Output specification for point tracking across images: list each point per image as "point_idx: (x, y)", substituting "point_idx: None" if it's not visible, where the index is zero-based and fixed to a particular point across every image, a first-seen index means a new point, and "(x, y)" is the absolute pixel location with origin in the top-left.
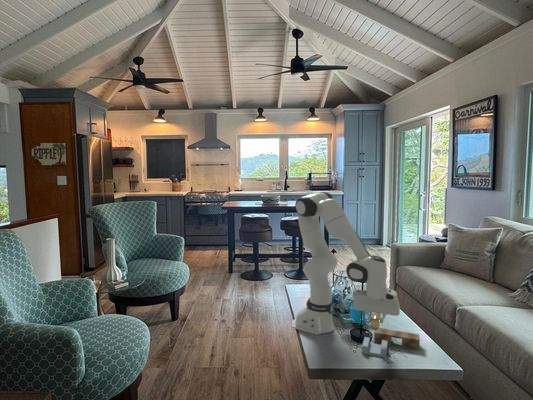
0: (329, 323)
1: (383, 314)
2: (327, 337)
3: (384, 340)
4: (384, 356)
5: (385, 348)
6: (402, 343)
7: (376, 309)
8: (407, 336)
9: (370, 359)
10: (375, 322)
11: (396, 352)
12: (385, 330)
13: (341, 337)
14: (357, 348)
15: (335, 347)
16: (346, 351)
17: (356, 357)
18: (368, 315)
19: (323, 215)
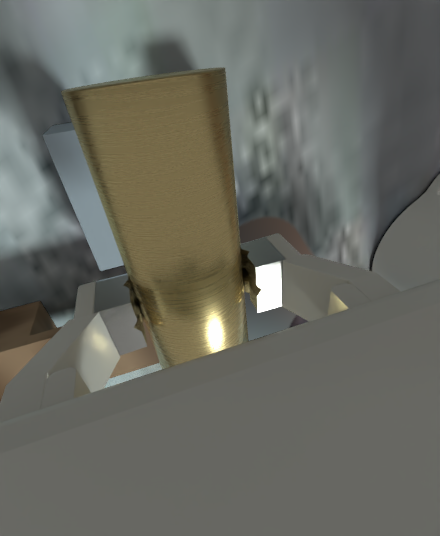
0: (422, 252)
1: (49, 402)
2: (399, 174)
3: (119, 265)
4: (63, 125)
5: (61, 161)
6: (31, 317)
7: (236, 439)
8: (2, 370)
9: (136, 36)
10: (133, 83)
11: (34, 234)
12: (149, 350)
13: (337, 214)
14: (248, 147)
15: (363, 83)
16: (301, 67)
17: (230, 11)
18: (315, 270)
19: None
